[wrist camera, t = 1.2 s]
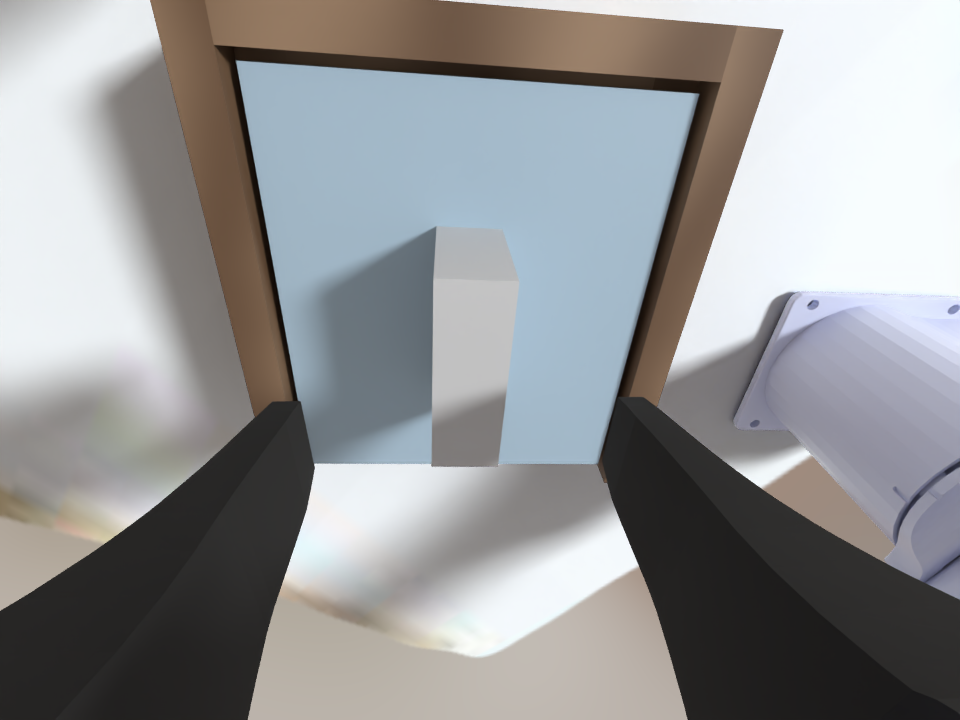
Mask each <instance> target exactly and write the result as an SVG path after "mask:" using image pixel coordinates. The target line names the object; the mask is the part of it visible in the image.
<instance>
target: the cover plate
mask: <svg viewBox="0 0 960 720" xmlns="http://www.w3.org/2000/svg"><path fill="white" fill-rule="evenodd" d="M236 63H237V69H238V74H239V80H240V85H241V91H242V96H243V102H244V107H245V112H246V118H247V123H248V129H249V134H250V140H251V145H252V151H253V156H254V162H255V167H256V173H257V178H258V184H259V189H260V195H261V200H262V206H263V211H264V217H265V222H266V228H267V233H268V239H269V244H270V250H271V255H272V260H273V266H274V271H275V277H276V282H277V288H278V293H279V299H280V304H281V310H282V315H283V321H284V326H285V332H286V337H287V343H288V348H289V354H290V359H291V365H292V370H293V376H294V381H295V387H296V392H297V398H298V401H301V405H302V410H303V414H304V419H305V424H306V429H307V433H308V438H309V443H310V448H311V452H312V457H313V462H314V463H331V464H431V466H443V467H498V464H598V462H599V459H600V455H601V451H602V448H603V444H604V441H605V437H606V433H607V430H608V426H609V422H610V419H611V415H612V411H613V408H614V404H615V400H616V397H617V393H618V389H619V386H620V382H621V378H622V375H623V371H624V368H625V364H626V360H627V357H628V353H629V349H630V346H631V342H632V338H633V335H634V331H635V327H636V324H637V320H638V316H639V313H640V309H641V305H642V302H643V298H644V294H645V291H646V287H647V284H648V280H649V276H650V273H651V269H652V265H653V262H654V258H655V254H656V251H657V247H658V243H659V240H660V236H661V232H662V229H663V225H664V221H665V218H666V214H667V210H668V207H669V203H670V200H671V196H672V192H673V189H674V185H675V181H676V178H677V174H678V170H679V167H680V163H681V159H682V156H683V152H684V148H685V145H686V141H687V137H688V134H689V130H690V126H691V123H692V119H693V116H694V112H695V108H696V105H697V101H698V97H699V94H697V93H690V92H679V91H665V90H651V89H637V88H623V87H609V86H595V85H581V84H567V83H553V82H539V81H525V80H511V79H498V78H484V77H470V76H456V75H442V74H428V73H414V72H400V71H386V70H372V69H358V68H344V67H330V66H316V65H303V64H289V63H275V62H261V61H236Z"/></svg>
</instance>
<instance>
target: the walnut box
mask: <svg viewBox="0 0 960 720" xmlns="http://www.w3.org/2000/svg"><path fill="white" fill-rule="evenodd" d="M150 2H151V6H152V10H153V14H154V18H155V22H156V26H157V29H158V33H159V37H160V41H161V45H162V49H163V53H164V57H165V61H166V65H167V69H168V73H169V77H170V81H171V85H172V89H173V93H174V97H175V101H176V105H177V109H178V113H179V117H180V121H181V125H182V129H183V133H184V137H185V141H186V145H187V149H188V153H189V157H190V161H191V165H192V169H193V173H194V177H195V181H196V185H197V189H198V193H199V197H200V201H201V205H202V209H203V213H204V217H205V221H206V225H207V229H208V233H209V237H210V241H211V245H212V249H213V253H214V257H215V261H216V265H217V269H218V273H219V277H220V281H221V285H222V289H223V293H224V297H225V301H226V305H227V309H228V313H229V317H230V321H231V325H232V329H233V333H234V337H235V341H236V345H237V349H238V353H239V357H240V361H241V365H242V369H243V372H244V376H245V380H246V384H247V388H248V392H249V396H250V400H251V404H252V408H253V412H254V416H255V417H256V416H257V415H258V414H259V413H260V412H262V411H263V410H264V409H265V408H266V407H267V406H268V405H269V404H270V403H271V402H272V401H298V398H297V392H296V387H295V381H294V376H293V370H292V365H291V359H290V354H289V348H288V343H287V337H286V332H285V326H284V321H283V315H282V310H281V304H280V299H279V293H278V288H277V282H276V277H275V271H274V266H273V260H272V255H271V250H270V244H269V239H268V233H267V228H266V222H265V217H264V211H263V206H262V200H261V195H260V189H259V184H258V178H257V173H256V167H255V162H254V156H253V151H252V145H251V140H250V134H249V129H248V123H247V118H246V112H245V107H244V102H243V96H242V91H241V85H240V80H239V74H238V69H237V63H236V61H261V62H275V63H289V64H303V65H316V66H330V67H344V68H358V69H372V70H386V71H400V72H414V73H428V74H442V75H456V76H470V77H484V78H498V79H511V80H525V81H539V82H553V83H567V84H581V85H595V86H609V87H623V88H637V89H651V90H665V91H679V92H690V93H697V94H699V97H698V101H697V105H696V108H695V112H694V116H693V119H692V123H691V126H690V130H689V134H688V137H687V141H686V145H685V148H684V152H683V156H682V159H681V163H680V167H679V170H678V174H677V178H676V181H675V185H674V189H673V192H672V196H671V200H670V203H669V207H668V210H667V214H666V218H665V221H664V225H663V229H662V232H661V236H660V240H659V243H658V247H657V251H656V254H655V258H654V262H653V265H652V269H651V273H650V276H649V280H648V284H647V287H646V291H645V294H644V298H643V302H642V305H641V309H640V313H639V316H638V320H637V324H636V327H635V331H634V335H633V338H632V342H631V346H630V349H629V353H628V357H627V360H626V364H625V368H624V371H623V375H622V378H621V382H620V386H619V389H618V393H617V397H616V400H615V404H614V408H613V411H612V415H611V419H610V422H609V426H608V430H607V433H606V437H605V441H604V444H603V448H602V451H601V455H600V459H599V462H598V464H597V465H598V467H599V470H600V473H601V475H602V478H603V481H604V483H607V479H606V475H605V471H604V467H603V463H602V458H603V454H604V450H605V446H606V442H607V438H608V434H609V430H610V426H611V422H612V418H613V415H614V411H615V407H616V403H617V399H618V397H644V398H645V399H647V400H648V401H649V402H651V403H652V404H653V405H655V406H656V407H657V405H658V402H659V399H660V396H661V393H662V390H663V387H664V384H665V381H666V378H667V375H668V372H669V369H670V366H671V363H672V360H673V357H674V354H675V351H676V348H677V345H678V342H679V339H680V336H681V333H682V330H683V328H684V325H685V322H686V319H687V316H688V313H689V310H690V307H691V304H692V301H693V298H694V295H695V292H696V289H697V286H698V283H699V280H700V277H701V274H702V271H703V268H704V265H705V262H706V259H707V256H708V253H709V250H710V247H711V244H712V241H713V238H714V235H715V232H716V229H717V226H718V223H719V220H720V218H721V215H722V212H723V209H724V206H725V203H726V200H727V197H728V194H729V191H730V188H731V185H732V182H733V179H734V176H735V173H736V170H737V167H738V164H739V161H740V158H741V155H742V152H743V149H744V146H745V143H746V140H747V137H748V134H749V131H750V128H751V125H752V122H753V119H754V116H755V113H756V110H757V108H758V105H759V102H760V99H761V96H762V93H763V90H764V87H765V84H766V81H767V78H768V75H769V72H770V69H771V66H772V63H773V60H774V57H775V54H776V51H777V48H778V45H779V42H780V39H781V36H782V33H783V30H782V29H770V28H758V27H746V26H734V25H723V24H711V23H699V22H687V21H676V20H664V19H652V18H640V17H629V16H617V15H605V14H593V13H581V12H570V11H558V10H546V9H534V8H523V7H511V6H499V5H487V4H476V3H464V2H452V1H440V0H150Z"/></svg>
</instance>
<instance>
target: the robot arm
mask: <svg viewBox="0 0 960 720" xmlns="http://www.w3.org/2000/svg"><path fill="white" fill-rule="evenodd" d="M812 300H813V302H812V303H811V304H810V305H809V306H807V305H808V304H809V302H811V301H812ZM752 421H753V422H752ZM733 423H734V425H735V426H736V427H737V428H738V429H739V430H789V431H790V432H791V433H792V434H793V435H794V436H795V437H796V438H797V439H798V441H799V442H800V443H801V444H802V445H803V446H804V447H805V448H806V449H807V450H808V451H809V453H810V454H811V455H812V456H813V457H814V458H815V459H816V460H817V461H818V462H819V463H820V464H821V466H822V467H823V468H824V469H825V470H826V471H827V472H828V473H829V474H830V475H831V476H832V477H833V479H834V480H835V481H836V482H837V483H838V484H839V485H840V486H841V487H842V488H843V489H844V491H845V492H846V493H847V494H848V495H849V496H850V497H851V498H852V499H853V500H854V501H855V502H856V503H857V505H858V506H859V507H860V508H861V509H862V510H863V511H864V512H865V513H866V514H867V516H868V517H870V519H871V520H872V521H873V522H874V523H875V524H876V525H877V526H878V527H879V529H880V530H881V531H882V532H883V533H884V534H885V535H886V536H887V537H888V538H889V539H890V541H891V542H892V543H893V544H894V545H895V548H894V549H893V550H892V551H891V553H890V554H889V555H887V556H886V557H885V559H884V561H885V562H886V563H887V564H886V563H884V562H882V561H880V560H878V559H876V558H875V557H873V556H871V555H870V554H868V553H866V552H864V551H862V550H860V549H859V548H857V547H855V546H853V545H851V544H850V543H848V542H846V541H844V540H842V539H841V538H838V537H837V536H835V535H833V534H832V533H830V532H828V531H826V530H825V529H823V528H822V527H820V526H818V525H817V524H814V523H813V522H812V521H810V520H809V519H807V518H805V517H804V516H802V515H801V514H799V513H797V512H796V511H794V510H793V509H791V508H790V507H788V506H786V505H785V504H783V503H782V502H780V501H779V500H777V499H776V498H774V497H773V496H771V495H770V494H768V493H767V492H765V491H764V490H762V489H761V488H760V487H758V486H757V485H755V484H754V483H753V482H751V481H750V480H748V479H747V478H746V477H744V476H743V475H742V474H740V473H739V472H737V471H736V470H735V469H733V468H732V467H731V466H729V465H728V464H727V463H725V462H724V461H723V460H721V459H720V458H719V457H718V456H716V455H715V454H714V453H712V452H711V451H710V450H709V449H707V448H706V447H705V446H704V445H702V444H701V443H700V442H699V441H697V440H696V439H695V438H694V437H693V436H691V435H690V434H689V433H688V432H686V431H685V430H684V429H683V428H682V427H680V426H679V425H678V424H677V423H675V422H674V421H673V420H672V419H671V418H669V417H668V416H667V415H666V414H665V413H663V412H662V411H661V410H660V409H658V408H657V407H656V406H655V405H653V404H652V403H651V402H649V401H648V400H647V399H645V398H644V397H618V399H617V403H616V407H615V411H614V415H613V418H612V422H611V426H610V430H609V434H608V438H607V442H606V446H605V450H604V454H603V458H602V463H603V467H604V471H605V475H606V479H607V483H608V487H609V490H610V494H611V498H612V501H613V503H614V506H615V509H616V511H617V514H618V516H619V519H620V521H621V523H622V526H623V528H624V531H625V533H626V536H627V538H628V541H629V543H630V545H631V548H632V550H633V553H634V555H635V557H636V560H637V562H638V565H639V567H640V570H641V572H642V574H643V577H644V579H645V582H646V584H647V586H648V589H649V592H650V594H651V597H652V600H653V602H654V605H655V608H656V611H657V614H658V617H659V620H660V624H661V627H662V630H663V633H664V637H665V640H666V644H667V647H668V650H669V653H670V657H671V660H672V664H673V668H674V671H675V675H676V678H677V682H678V685H679V689H680V692H681V696H682V699H683V703H684V707H685V711H686V715H687V719H688V720H960V297H950V296H921V295H893V294H865V293H836V292H808V291H801V292H797V293H795V294H793V295H792V296H791V297H790V298H789V300H788V301H787V304H786V306H785V308H784V310H783V312H782V315H781V317H780V319H779V321H778V323H777V326H776V328H775V330H774V332H773V334H772V337H771V339H770V341H769V343H768V345H767V347H766V350H765V352H764V354H763V356H762V358H761V361H760V363H759V365H758V367H757V369H756V372H755V374H754V376H753V378H752V380H751V383H750V385H749V387H748V389H747V391H746V394H745V396H744V398H743V400H742V402H741V404H740V407H739V409H738V411H737V413H736V415H735V418H734V421H733ZM314 469H315V467H314V462H313V457H312V452H311V448H310V443H309V438H308V433H307V429H306V424H305V419H304V414H303V410H302V405H301V401H272V402H271V403H270V404H269V405H268V406H267V407H266V408H265V409H264V410H263V411H262V412H260V413H259V414H258V415H257V416H256V417H255V418H254V419H253V420H252V421H251V422H250V423H249V424H248V425H247V426H246V427H245V428H244V429H243V430H241V431H240V432H239V433H238V434H237V435H236V436H235V437H234V438H233V439H232V440H231V441H230V442H229V443H228V444H227V445H226V446H225V447H223V448H222V449H221V450H220V451H219V452H218V453H217V454H216V455H215V456H214V457H212V458H211V459H210V460H209V461H208V462H207V463H206V464H205V465H204V466H203V467H202V468H200V469H199V470H198V471H197V472H196V473H195V474H193V475H192V476H191V477H190V478H189V479H187V480H186V481H185V482H184V483H183V484H181V485H180V486H179V487H178V488H177V489H176V490H174V491H173V492H172V493H171V494H170V495H168V496H167V497H166V498H165V499H164V500H162V501H161V502H160V503H159V504H158V505H156V506H155V507H154V508H152V509H151V510H150V511H149V512H147V513H146V514H145V515H143V516H142V517H141V518H139V519H138V520H137V521H136V522H134V523H133V524H132V525H130V526H129V527H127V528H126V529H125V530H123V531H122V532H120V533H119V534H118V535H116V536H115V537H114V538H112V539H111V540H109V541H108V542H107V543H105V544H104V545H102V546H101V547H100V548H98V549H97V550H95V551H94V552H92V553H91V554H89V555H88V556H86V557H85V558H83V559H82V560H80V561H79V562H77V563H75V564H74V565H72V566H71V567H69V568H68V569H66V570H65V571H63V572H62V573H60V574H59V575H57V576H56V577H54V578H52V579H51V580H49V581H48V582H46V583H45V584H43V585H42V586H40V587H38V588H37V589H35V590H34V591H32V592H31V593H29V594H28V595H26V596H25V597H23V598H21V599H19V600H18V601H16V602H14V603H13V604H11V605H9V606H8V607H6V608H4V609H3V610H1V611H0V720H248V715H249V711H250V706H251V701H252V696H253V692H254V687H255V682H256V678H257V673H258V669H259V665H260V661H261V656H262V652H263V648H264V643H265V639H266V634H267V631H268V627H269V624H270V620H271V616H272V613H273V610H274V606H275V603H276V600H277V597H278V595H279V592H280V589H281V586H282V583H283V580H284V577H285V574H286V571H287V568H288V565H289V562H290V559H291V556H292V553H293V550H294V547H295V544H296V541H297V538H298V535H299V532H300V529H301V525H302V522H303V519H304V516H305V513H306V510H307V505H308V500H309V496H310V491H311V485H312V480H313V474H314Z"/></svg>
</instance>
